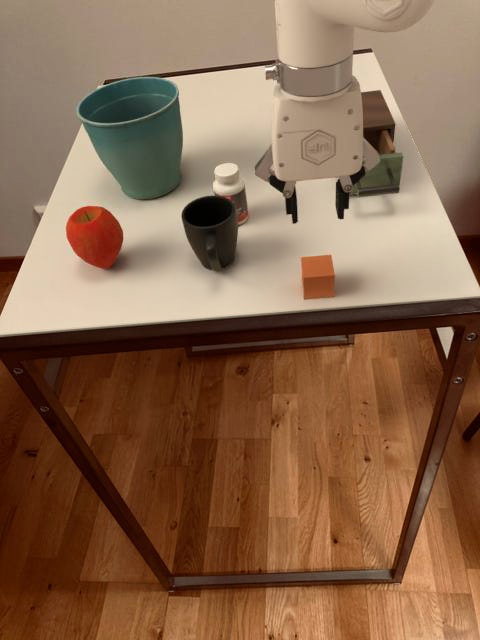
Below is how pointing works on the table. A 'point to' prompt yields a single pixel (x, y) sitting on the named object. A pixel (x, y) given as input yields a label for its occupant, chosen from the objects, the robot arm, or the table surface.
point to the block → (317, 276)
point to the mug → (212, 230)
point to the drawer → (381, 167)
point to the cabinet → (377, 113)
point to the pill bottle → (232, 188)
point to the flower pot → (137, 133)
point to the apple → (95, 235)
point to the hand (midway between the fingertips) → (316, 213)
